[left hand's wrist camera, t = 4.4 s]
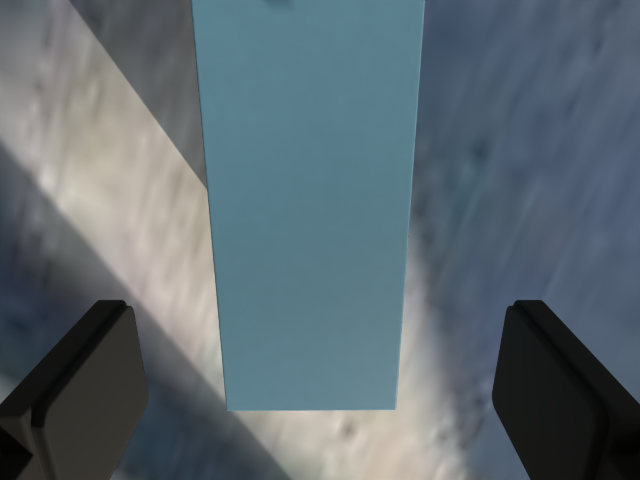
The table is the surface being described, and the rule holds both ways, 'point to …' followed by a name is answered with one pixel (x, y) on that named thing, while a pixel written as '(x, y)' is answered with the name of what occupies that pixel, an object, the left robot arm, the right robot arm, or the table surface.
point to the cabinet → (309, 194)
